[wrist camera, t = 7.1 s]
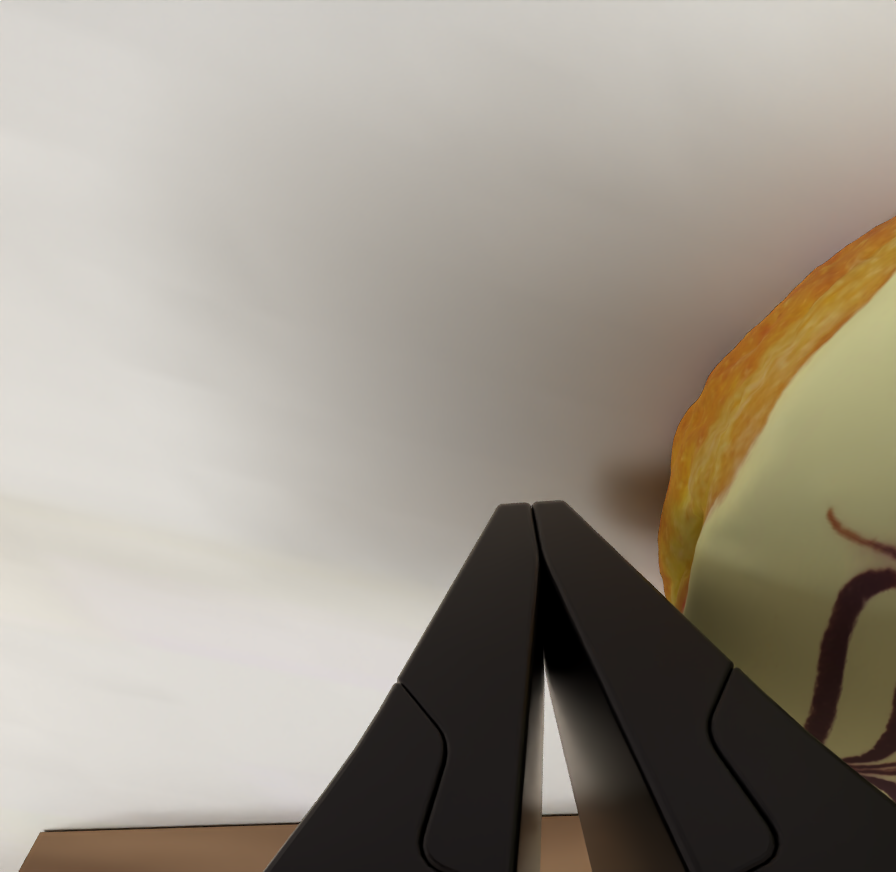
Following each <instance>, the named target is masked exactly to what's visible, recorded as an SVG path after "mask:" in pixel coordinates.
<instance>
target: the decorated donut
mask: <svg viewBox="0 0 896 872" xmlns="http://www.w3.org/2000/svg"><path fill="white" fill-rule="evenodd" d="M658 548H659V551H658V556H659V568H660V574H661V576H662V579H663V584H664V592H665V596H666V599H667V600H668V601H669V602H670V603H672V604H673V605H674V606H675V607H676V608H677V609H678V610H679V611H680V612H681V613H682V614H683V615H684V616H685V617H686V618H687V619H688V620H689V621H690V622H691V623H692V624H693V625H694V626H696V627H697V628H698V629H699V630H700V631H701V632H702V633H703V634H704V635H705V636H706V637H707V638H708V639H709V640H710V641H711V642H712V643H713V644H714V645H715V646H716V647H717V648H719V649H720V650H721V651H722V652H723V653H724V654H725V655H726V656H727V657H728V658H729V659H730V660H731V661H732V662H733V664H734V668H735V667H738V668H740V669H741V670H742V671H743V672H744V673H745V674H746V675H747V676H748V677H749V678H750V679H751V680H752V681H753V682H754V683H755V684H757V685H758V686H759V687H760V688H761V689H762V690H763V691H764V692H765V693H766V694H767V695H768V696H769V697H770V698H772V699H773V700H774V701H775V702H776V703H777V704H778V705H779V706H780V707H781V708H783V709H784V710H785V711H786V712H787V713H788V714H789V715H790V716H791V717H792V718H794V719H795V720H796V721H797V722H798V723H799V724H800V725H801V726H802V727H803V728H805V729H806V730H807V731H808V732H809V733H811V734H812V735H813V736H814V737H815V738H817V739H818V740H819V741H820V742H821V743H823V744H824V745H825V746H826V747H827V748H829V749H830V750H831V751H832V752H834V753H835V754H836V755H837V756H838V757H840V758H841V759H842V760H843V761H844V762H846V763H847V764H848V765H849V766H850V767H852V768H853V769H854V770H855V771H857V772H858V773H859V774H860V775H862V776H863V777H864V778H865V779H867V780H868V781H869V782H870V783H872V784H873V785H874V786H875V787H877V788H878V789H879V790H880V791H882V792H883V793H884V794H885V795H887V796H888V797H889V798H891V799H892V800H893V801H894V802H896V216H895V217H893V218H892V219H890V220H888V221H886V222H884V223H882V224H880V225H878V226H876V227H874V228H873V229H872V230H871V231H869V232H868V233H866V234H864V235H863V236H861V237H860V238H859V239H857V240H855V241H854V242H852V243H850V244H849V245H847V246H846V247H844V248H843V249H842V250H841V251H839V252H838V253H837V254H835V255H834V256H833V257H832V258H830V259H829V260H828V261H827V262H825V263H824V264H822V265H820V266H818V267H816V268H815V269H814V270H813V271H812V272H811V273H810V274H809V275H808V276H807V277H806V278H805V279H804V280H803V281H802V282H801V283H800V284H799V285H798V286H797V287H795V288H794V289H793V290H792V291H791V293H790V294H789V295H788V296H787V297H786V298H785V299H784V300H783V301H782V302H781V303H780V304H779V305H777V306H776V307H775V308H774V309H773V311H772V312H771V313H770V314H769V315H768V316H767V317H766V318H765V319H764V320H763V321H761V322H760V323H759V324H758V325H757V326H755V327H754V328H753V329H752V330H751V331H750V332H748V333H747V334H746V336H745V338H744V339H742V340H741V341H740V342H739V343H738V345H737V346H736V347H735V348H734V349H733V350H732V351H731V352H730V353H729V354H727V355H726V356H725V357H724V358H723V360H722V361H721V362H720V363H718V365H717V366H716V367H715V368H714V370H713V371H712V372H711V373H710V375H709V377H708V379H707V381H706V384H705V387H704V389H703V391H702V393H701V395H700V397H699V399H698V400H697V401H696V402H695V403H694V404H693V405H692V406H691V407H690V408H689V409H688V411H687V412H686V413H685V415H684V417H683V418H682V420H681V421H680V423H679V425H678V428H677V431H676V434H675V437H674V441H673V447H672V456H671V477H670V481H669V485H668V490H667V493H666V497H665V501H664V504H663V509H662V514H661V519H660V527H659V532H658Z"/></svg>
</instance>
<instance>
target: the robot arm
mask: <svg viewBox="0 0 896 872" xmlns="http://www.w3.org/2000/svg"><path fill="white" fill-rule="evenodd" d="M544 665H545V672H546V678H547V683H548V688H549V692H550V697H551V701H552V705H553V709H554V714H555V718H556V722H557V726H558V730H559V735H560V739H561V743H562V747H563V751H564V756H565V760H566V764H567V768H568V772H569V777H570V781H571V785H572V789H573V793H574V798H575V802H576V806H577V810H578V814H579V819H580V823H581V827H582V831H583V835H584V840H585V844H586V848H587V852H588V856H589V861H590V865H591V869H592V872H896V802H894V801H893V800H892V799H891V798H889V797H888V796H887V795H885V794H884V793H883V792H882V791H880V790H879V789H878V788H877V787H875V786H874V785H873V784H872V783H870V782H869V781H868V780H867V779H865V778H864V777H863V776H862V775H860V774H859V773H858V772H857V771H855V770H854V769H853V768H852V767H850V766H849V765H848V764H847V763H846V762H844V761H843V760H842V759H841V758H840V757H838V756H837V755H836V754H835V753H834V752H832V751H831V750H830V749H829V748H827V747H826V746H825V745H824V744H823V743H821V742H820V741H819V740H818V739H817V738H815V737H814V736H813V735H812V734H811V733H809V732H808V731H807V730H806V729H805V728H803V727H802V726H801V725H800V724H799V723H798V722H797V721H796V720H795V719H794V718H792V717H791V716H790V715H789V714H788V713H787V712H786V711H785V710H784V709H783V708H781V707H780V706H779V705H778V704H777V703H776V702H775V701H774V700H773V699H772V698H770V697H769V696H768V695H767V694H766V693H765V692H764V691H763V690H762V689H761V688H760V687H759V686H758V685H757V684H755V683H754V682H753V681H752V680H751V679H750V678H749V677H748V676H747V675H746V674H745V673H744V672H743V671H742V670H741V669H740V668H738V667H735V668H734V664H733V662H732V661H731V660H730V659H729V658H728V657H727V656H726V655H725V654H724V653H723V652H722V651H721V650H720V649H719V648H717V647H716V646H715V645H714V644H713V643H712V642H711V641H710V640H709V639H708V638H707V637H706V636H705V635H704V634H703V633H702V632H701V631H700V630H699V629H698V628H697V627H696V626H694V625H693V624H692V623H691V622H690V621H689V620H688V619H687V618H686V617H685V616H684V615H683V614H682V613H681V612H680V611H679V610H678V609H677V608H676V607H675V606H674V605H673V604H672V603H670V602H669V601H668V600H667V599H666V598H665V597H664V596H663V595H662V594H661V593H660V592H659V591H658V590H657V589H656V588H655V587H654V586H653V585H652V584H651V583H650V582H649V581H647V580H646V579H645V578H644V577H643V576H642V575H641V574H640V573H639V572H638V571H637V570H636V569H635V568H634V567H633V566H632V565H631V564H630V563H629V562H628V561H627V560H626V559H625V558H623V557H622V556H621V555H620V554H619V553H618V552H617V551H616V550H615V549H614V548H613V547H612V546H611V545H610V544H609V543H608V542H607V541H606V540H605V539H604V538H603V537H602V536H600V535H599V534H598V533H597V532H596V531H595V530H594V529H593V528H592V527H591V526H590V525H589V524H588V523H587V522H586V521H585V520H584V519H583V518H582V517H581V516H580V515H579V514H578V513H576V512H575V511H574V510H573V509H572V508H571V507H570V506H569V505H568V504H567V503H566V502H564V501H561V500H558V501H543V502H535V503H534V504H533V505H532V509H531V506H530V505H529V504H528V503H511V504H500V505H499V506H498V507H497V508H496V510H495V511H494V513H493V515H492V517H491V518H490V520H489V522H488V523H487V525H486V527H485V529H484V530H483V532H482V534H481V536H480V537H479V539H478V541H477V542H476V544H475V546H474V548H473V549H472V551H471V553H470V554H469V556H468V558H467V560H466V561H465V563H464V565H463V567H462V568H461V570H460V572H459V573H458V575H457V577H456V579H455V580H454V582H453V584H452V585H451V587H450V589H449V591H448V592H447V594H446V596H445V598H444V599H443V601H442V603H441V604H440V606H439V608H438V610H437V611H436V613H435V615H434V616H433V618H432V620H431V622H430V623H429V625H428V627H427V629H426V630H425V632H424V634H423V635H422V637H421V639H420V641H419V642H418V644H417V646H416V647H415V649H414V651H413V653H412V654H411V656H410V658H409V660H408V661H407V663H406V665H405V666H404V668H403V670H402V672H401V673H400V675H399V677H398V679H397V683H395V684H394V685H393V686H392V688H391V690H390V692H389V693H388V695H387V697H386V699H385V700H384V702H383V704H382V705H381V707H380V709H379V711H378V712H377V714H376V715H375V717H374V719H373V720H372V722H371V723H370V725H369V727H368V728H367V730H366V731H365V733H364V734H363V736H362V738H361V739H360V741H359V742H358V744H357V746H356V747H355V749H354V750H353V752H352V753H351V754H350V756H349V757H348V759H347V760H346V761H345V763H344V764H343V765H342V767H341V768H340V770H339V771H338V772H337V774H336V775H335V777H334V778H333V779H332V781H331V782H330V783H329V785H328V786H327V788H326V789H325V790H324V792H323V793H322V794H321V796H320V797H319V798H318V800H317V801H316V802H315V804H314V805H313V806H312V808H311V809H310V810H309V812H308V813H307V814H306V816H305V817H304V818H303V819H302V821H301V822H300V823H299V825H298V826H297V827H296V829H295V830H294V831H293V833H292V834H291V835H290V837H289V838H288V839H287V840H286V842H285V843H284V844H283V846H282V847H281V848H280V850H279V851H278V852H277V854H276V855H275V856H274V858H273V859H272V860H271V862H270V863H269V864H268V865H267V867H266V868H265V869H264V871H263V872H540V861H541V819H542V777H543V735H544Z"/></svg>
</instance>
